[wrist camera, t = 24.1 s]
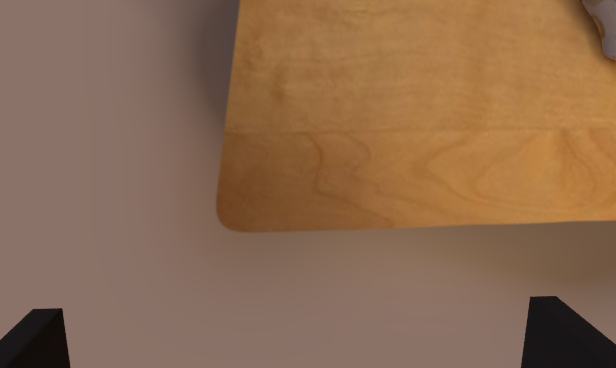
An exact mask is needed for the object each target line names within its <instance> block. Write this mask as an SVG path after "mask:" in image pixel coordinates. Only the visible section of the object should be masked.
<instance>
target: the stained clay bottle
mask: <svg viewBox="0 0 616 368" xmlns="http://www.w3.org/2000/svg"><path fill="white" fill-rule="evenodd" d="M580 1H581V2H582V4H583V5H584V7H585V8H586V10H587V11H588V13H589V15H590V16H591V18H592V19H593V20H594V22H595V24H596V25H597V27H598V30H599V33H600V38H601V44H602V52H603V54H604V55H605V56H607V57H608V58H610V59H612V60H616V0H580Z"/></svg>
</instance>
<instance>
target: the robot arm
mask: <svg viewBox="0 0 616 368" xmlns="http://www.w3.org/2000/svg"><path fill="white" fill-rule="evenodd" d="M0 368H70V361H69V354H68V347H67V340H66V333H65V325H64V319H63V311H62V308H59V309H58V308H57V309H33V310H32V311H31V312H30V313H29V314H27V315H26V316H25V317H24V318H23V319H22V320H21V321H20V322H19V323H18V324H17V325H16V326H15V327H14V328H13V329H11V330H10V331H9V332H8V333H7V334H6V335H5V336H4V337H3V338H2V339H1V340H0ZM521 368H616V344H614V343H613V342H612V341H611V340H609V339H608V338H607V337H605V336H604V335H603V334H602V333H601V332H600V331H598V330H597V329H596V328H595V327H593V326H592V325H591V324H590V323H588V322H587V321H586V320H585V319H584V318H582V317H581V316H580V315H579V314H577V313H576V312H575V311H574V310H572V309H571V308H570V307H569V306H567V305H566V304H565V303H564V302H562V301H561V300H560V299H559V298H558V297H556V296H545V297H544V296H542V297H530V302H529V310H528V319H527V326H526V333H525V341H524V348H523V356H522V364H521Z"/></svg>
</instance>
